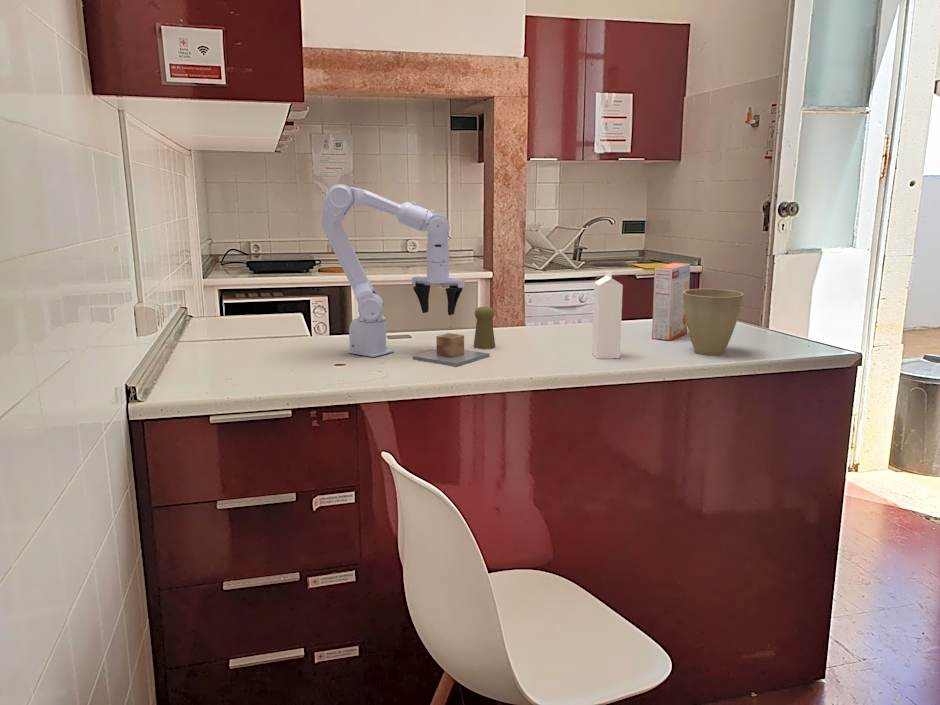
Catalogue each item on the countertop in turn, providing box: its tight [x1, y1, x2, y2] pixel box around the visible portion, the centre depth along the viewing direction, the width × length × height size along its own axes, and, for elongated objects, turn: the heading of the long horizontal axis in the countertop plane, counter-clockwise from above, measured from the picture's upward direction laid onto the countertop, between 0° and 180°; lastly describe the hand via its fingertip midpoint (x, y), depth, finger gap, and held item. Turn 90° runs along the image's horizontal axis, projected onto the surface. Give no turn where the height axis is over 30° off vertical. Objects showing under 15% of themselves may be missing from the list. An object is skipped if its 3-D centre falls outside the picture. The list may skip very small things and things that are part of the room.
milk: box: [591, 269, 624, 360], centre depth 192 cm, size 6×6×22 cm
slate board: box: [412, 349, 490, 368], centre depth 193 cm, size 14×14×1 cm
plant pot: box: [683, 288, 744, 356], centre depth 197 cm, size 15×15×16 cm
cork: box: [473, 306, 496, 350], centre depth 205 cm, size 6×6×11 cm
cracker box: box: [651, 262, 691, 341], centre depth 218 cm, size 14×6×21 cm, turn 144°
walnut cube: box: [435, 332, 465, 358], centre depth 192 cm, size 5×5×5 cm
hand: (438, 313), depth 198 cm, fingers open, 7 cm apart
